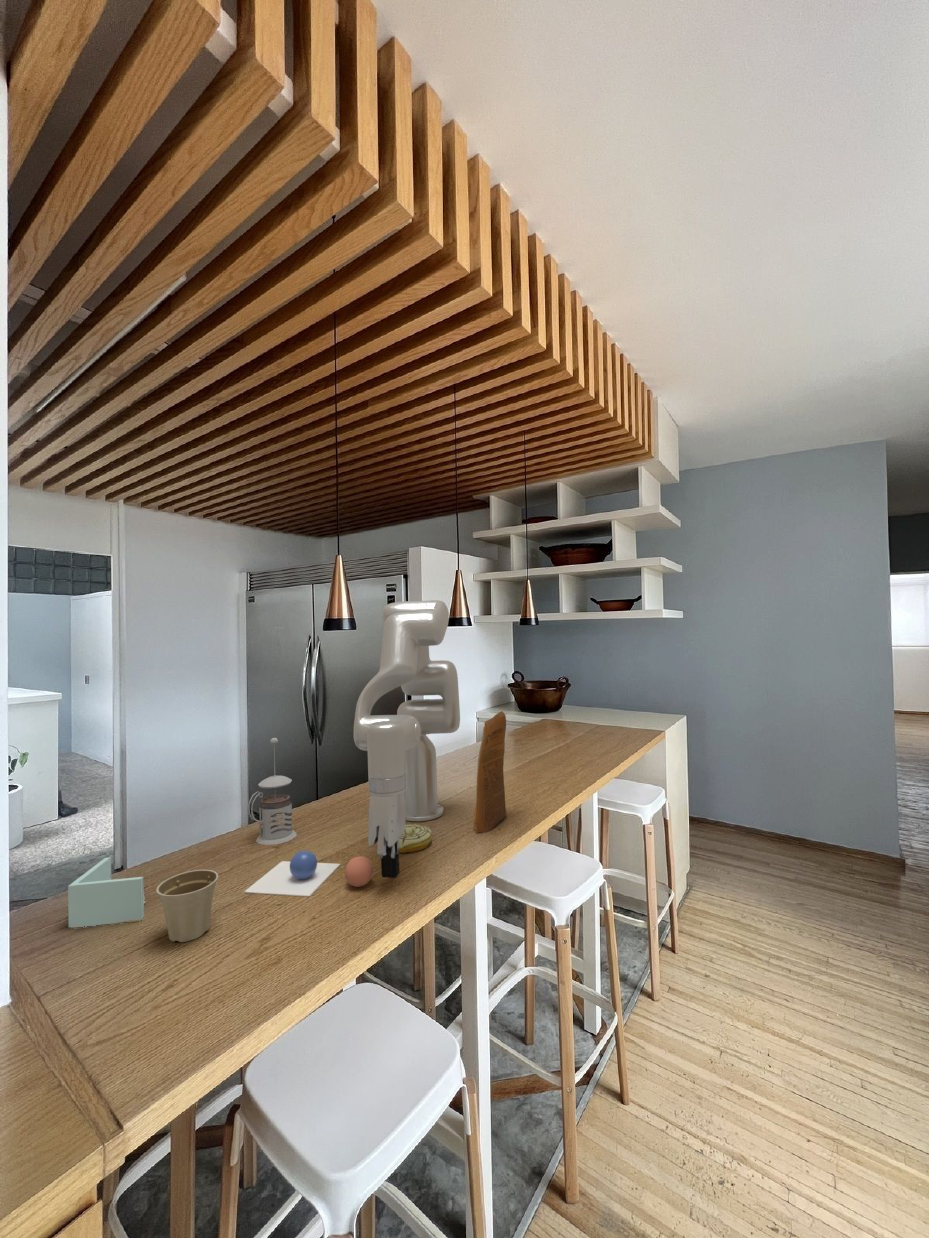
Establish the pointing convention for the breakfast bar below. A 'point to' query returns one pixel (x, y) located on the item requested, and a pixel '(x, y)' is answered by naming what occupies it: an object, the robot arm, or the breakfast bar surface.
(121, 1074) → the breakfast bar surface
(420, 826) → the decorated donut
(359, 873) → the pink smooth round ball
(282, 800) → the french press
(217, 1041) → the breakfast bar surface
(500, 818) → the pancake mix bag
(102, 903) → the right angle wall
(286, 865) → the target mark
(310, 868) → the blue ball
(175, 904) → the flower pot
